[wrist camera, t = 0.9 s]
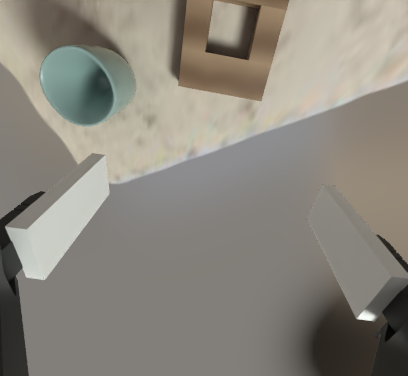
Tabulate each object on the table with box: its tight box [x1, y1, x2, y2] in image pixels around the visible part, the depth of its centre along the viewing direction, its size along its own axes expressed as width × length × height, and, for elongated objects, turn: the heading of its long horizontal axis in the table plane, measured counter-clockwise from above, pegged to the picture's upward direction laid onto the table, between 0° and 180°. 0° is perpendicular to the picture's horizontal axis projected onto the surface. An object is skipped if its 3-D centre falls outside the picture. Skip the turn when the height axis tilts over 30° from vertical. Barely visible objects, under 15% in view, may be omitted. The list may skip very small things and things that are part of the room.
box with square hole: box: [178, 0, 289, 101], centre depth 28 cm, size 14×11×2 cm
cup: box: [39, 45, 136, 126], centre depth 28 cm, size 8×8×10 cm
